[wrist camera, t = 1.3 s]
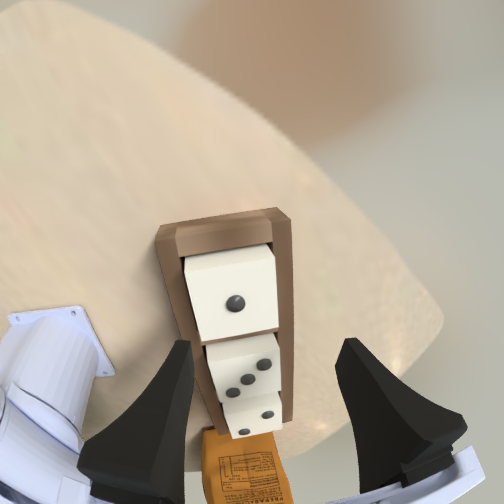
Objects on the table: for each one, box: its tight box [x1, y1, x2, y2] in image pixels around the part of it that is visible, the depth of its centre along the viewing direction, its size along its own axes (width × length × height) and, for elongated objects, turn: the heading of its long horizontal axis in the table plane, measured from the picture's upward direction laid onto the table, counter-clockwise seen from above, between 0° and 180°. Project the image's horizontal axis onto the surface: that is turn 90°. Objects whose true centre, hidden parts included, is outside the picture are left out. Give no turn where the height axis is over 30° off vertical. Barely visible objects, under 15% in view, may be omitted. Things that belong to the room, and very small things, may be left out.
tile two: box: [222, 392, 282, 439], centre depth 23 cm, size 5×5×3 cm
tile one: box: [184, 243, 279, 341], centre depth 17 cm, size 5×5×3 cm
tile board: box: [155, 207, 294, 436], centre depth 22 cm, size 8×22×3 cm, turn 5°
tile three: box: [206, 332, 281, 403], centre depth 20 cm, size 5×5×3 cm
